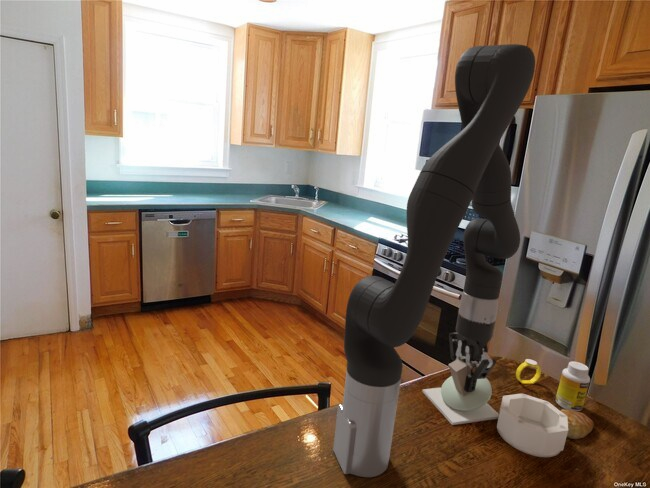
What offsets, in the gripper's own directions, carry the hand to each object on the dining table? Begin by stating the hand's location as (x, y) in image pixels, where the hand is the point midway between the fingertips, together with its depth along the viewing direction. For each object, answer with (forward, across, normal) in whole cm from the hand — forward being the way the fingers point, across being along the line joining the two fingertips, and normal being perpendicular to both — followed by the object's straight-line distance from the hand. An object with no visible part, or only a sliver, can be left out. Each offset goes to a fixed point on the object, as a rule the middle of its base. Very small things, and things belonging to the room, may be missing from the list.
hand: (463, 386), depth 94 cm
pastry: (+5, +12, +19) cm, 23 cm away
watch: (+5, -5, +23) cm, 24 cm away
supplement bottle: (+5, +5, +26) cm, 27 cm away
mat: (+5, 0, 0) cm, 5 cm away
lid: (+2, 0, +1) cm, 2 cm away
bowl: (+5, +12, +8) cm, 15 cm away
